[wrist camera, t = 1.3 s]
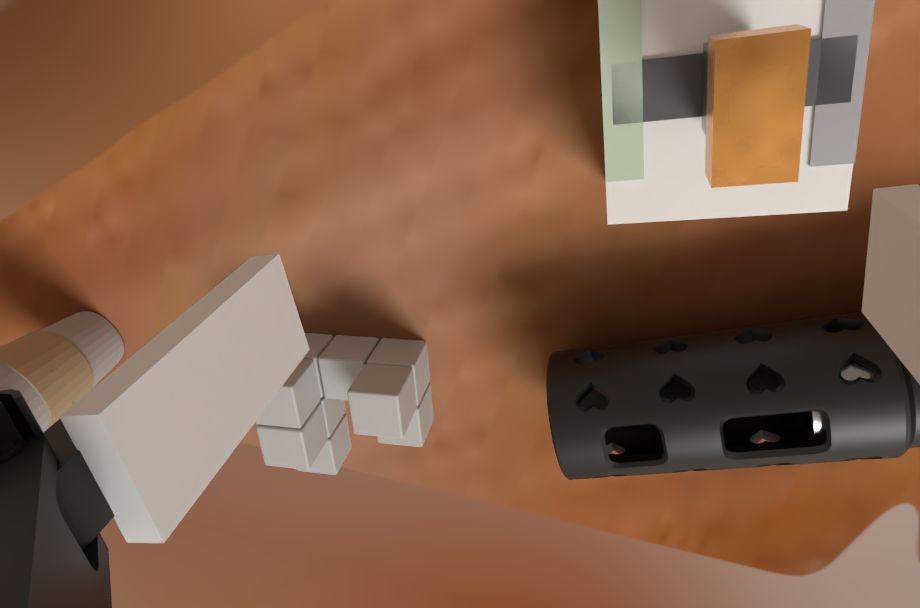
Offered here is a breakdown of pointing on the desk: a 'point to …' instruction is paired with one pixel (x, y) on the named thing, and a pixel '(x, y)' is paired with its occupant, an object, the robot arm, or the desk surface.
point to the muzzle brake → (732, 400)
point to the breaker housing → (680, 106)
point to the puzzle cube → (361, 383)
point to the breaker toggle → (754, 105)
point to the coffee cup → (60, 363)
